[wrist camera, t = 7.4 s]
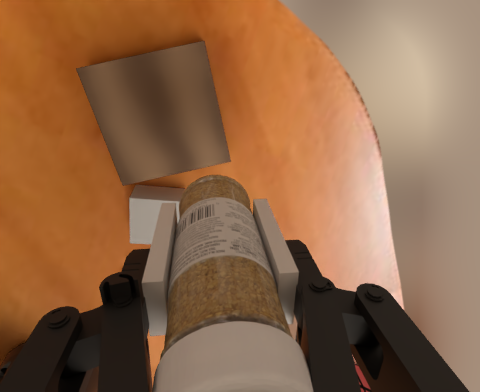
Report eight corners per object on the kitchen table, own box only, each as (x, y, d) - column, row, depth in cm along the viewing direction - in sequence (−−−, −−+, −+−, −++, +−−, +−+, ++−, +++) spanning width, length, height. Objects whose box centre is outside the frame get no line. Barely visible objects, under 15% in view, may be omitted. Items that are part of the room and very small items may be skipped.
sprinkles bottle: (196, 244, 21) (190, 510, 9) (166, 187, 19) (106, 429, 7) (259, 221, 21) (343, 459, 9) (236, 160, 19) (302, 361, 7)
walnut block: (130, 172, 37) (122, 185, 34) (90, 66, 32) (75, 68, 28) (228, 150, 37) (230, 161, 34) (203, 41, 32) (204, 40, 28)
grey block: (136, 226, 41) (129, 243, 37) (136, 184, 38) (129, 197, 34) (182, 228, 41) (180, 245, 38) (185, 187, 39) (183, 201, 35)
